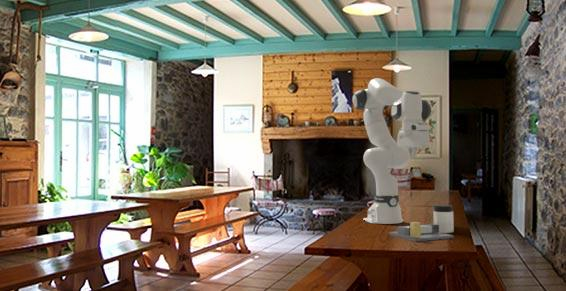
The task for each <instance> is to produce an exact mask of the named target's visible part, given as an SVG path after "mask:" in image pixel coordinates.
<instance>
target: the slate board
mask: <svg viewBox="0 0 566 291" xmlns="http://www.w3.org/2000/svg"><path fill="white" fill-rule="evenodd" d="M388 236H391V237H396V238H400V239H403V240H408V241H410V242H427V241H428V240H429V241H437V240H439V239H441V240H450V238H452V239H454V235H452V234H449V233H439V232H437V233H423V234H421V237H416V238H414V237H410V235H407V236H405V235H401V234H398V230H397V231H389V232H388ZM439 241H440V240H439Z"/></svg>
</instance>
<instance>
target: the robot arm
mask: <svg viewBox="0 0 566 291" xmlns="http://www.w3.org/2000/svg"><path fill="white" fill-rule="evenodd" d="M352 105H353V107H354V108H355V110H357V111H363V122H364V128H365V131H366V133H367V138H368V140H369V142H370V143H371V144H372V145H374V146H375V147H372V148H368V149H366V150H365V152H364V154H363V156H362V157H363V158H362V159H363V163H364V165H365V166H366V167H367V168H368V169H369V170H370V171H371V173H372V175H373V177H374V181H375V195H374V196H373V197H374V203H373V204H372V205H371V206H370V207H369V208H367V209H368V210H367V212H366V213H367V217H363V221H364V220H365V221H366V222H367V223H370V224H381V225H383V224H384V225H393V224H401V223H403V222H404V219H403V218H402V210H401V208H402V207H401V205H400V204H399V203H400V196H399V189H398V188H399V184H398V183H399V182H398V179H397V178H396V177H395V176H394V175H392V174H391V172H390V169H399V168H402V167H403V168H404V167H406V166H407V165H408V164H409V161H410V159H416V158H417V153H418V151H419V148H422V149H423V148H429V146H430V144H431V143H430V141H431V140H430V132H429V131H430V127H431V126H430V125H429V124H426V123H424V122H426V120H428V119H429V118H430V117H431V114H432V107H431V105H430V103H429V102H428V101H427V100H425V99H422V95H421V93H420V92H419V91H415V90H414V91H413V90H407V91H404V90H402V89H400V88H398V87H397V86H394V85H392V84H391V83H390V82H389V81H387V80H385V79H383V78H379V77H375V78H372V79H371V80H370V81H369V82H368V85H367V88H366V89H363V88H361V89H360V90H356V91H355V92H354V93H353V95H352ZM389 107H390V115H391V117H392V118H393V119H394V120H395V121H399V122H401V124H402V126H401V128H400V129H399V130H398V132H397V140H395V139H394V137H392V136H393V135H391V133H390V130H389V128H388V125H387V122H386V119H385V117H384V114H383V111H387V110H388V109H389ZM406 148H407V149H406Z"/></svg>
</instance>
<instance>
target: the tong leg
mask: <svg viewBox="0 0 566 291" xmlns="http://www.w3.org/2000/svg"><path fill="white" fill-rule="evenodd" d="M432 224H433V223H432ZM420 227H421V234H423V233H437V232H439V225H436V224H433V225H425V226H420Z"/></svg>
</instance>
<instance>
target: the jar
mask: <svg viewBox="0 0 566 291" xmlns="http://www.w3.org/2000/svg"><path fill="white" fill-rule="evenodd" d="M432 211H433V212H432V213H433V215H432V216H433V223H432V224H436V225H439V233H444V234H451V233H454V224H455V223H454V211H453V205H451V204H434V205H433V210H432Z"/></svg>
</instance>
